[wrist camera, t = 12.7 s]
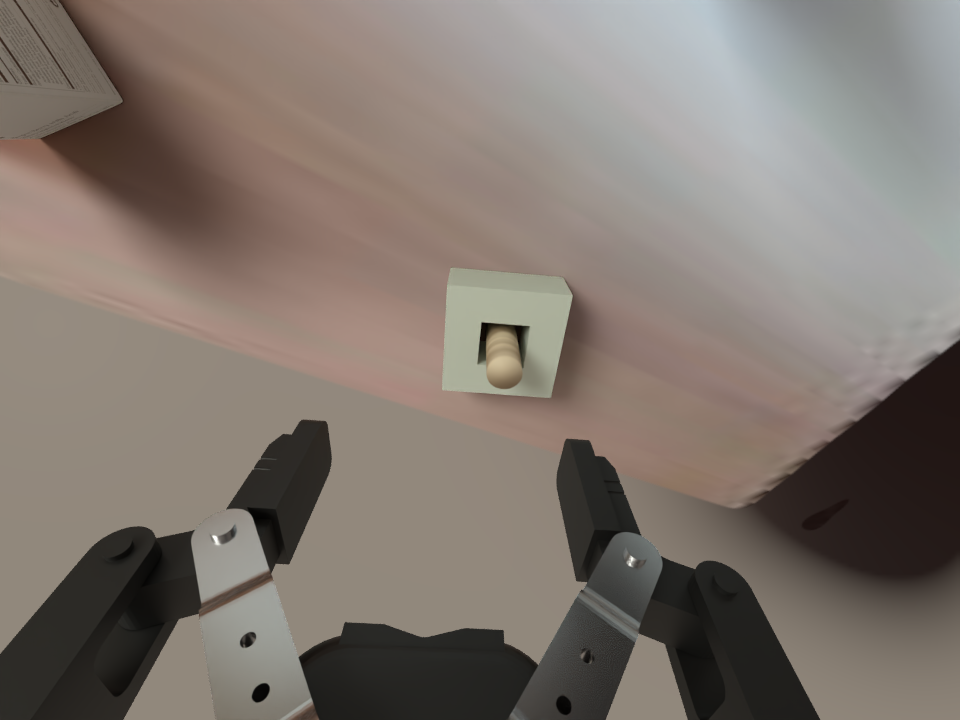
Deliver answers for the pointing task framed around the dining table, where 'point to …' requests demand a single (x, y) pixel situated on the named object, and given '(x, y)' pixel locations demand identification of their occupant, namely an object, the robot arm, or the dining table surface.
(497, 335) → the peg
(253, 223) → the dining table surface
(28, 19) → the supplement box
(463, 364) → the hole block
